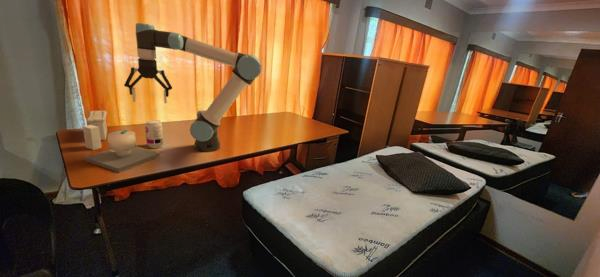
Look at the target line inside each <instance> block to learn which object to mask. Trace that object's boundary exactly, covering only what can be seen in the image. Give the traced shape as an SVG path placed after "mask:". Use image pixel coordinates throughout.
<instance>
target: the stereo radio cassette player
mask: <svg viewBox="0 0 600 277" xmlns="http://www.w3.org/2000/svg"><path fill="white" fill-rule="evenodd" d="M99 108H100V110H90V111H89V113H88V116H87V119H86V126H87V125H94V126H97V127H99V132H100V138H101V141H106V140H107V135H108V126H107V110H103V109H102V107H101V106H99Z"/></svg>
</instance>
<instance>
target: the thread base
mask: <svg viewBox="0 0 600 277" xmlns="http://www.w3.org/2000/svg"><path fill="white" fill-rule="evenodd" d="M160 153H161V152H157V151H155V150H151V149H147V148H143V147H140V146H137V145H136V146H135V147H133V148H130V149H125V150H113V149H110V148H109V149H106V150H103V151H100V152H96V153H93V154H90V155H86V156H84V157H83V160H84V162H87V163H89V164H93V165H95V166H97V167H98V166H99V167H102V168H104V169H107V170H111V171H113V172H116V173H121V172H123V171H126V170H129V169H131V168H134V167H136V165H137V166H139V165H141V163H142V164H144V163H146V162H149V161H151V160H154V159H158V158H159V157H160V156H161V154H160Z"/></svg>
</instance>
